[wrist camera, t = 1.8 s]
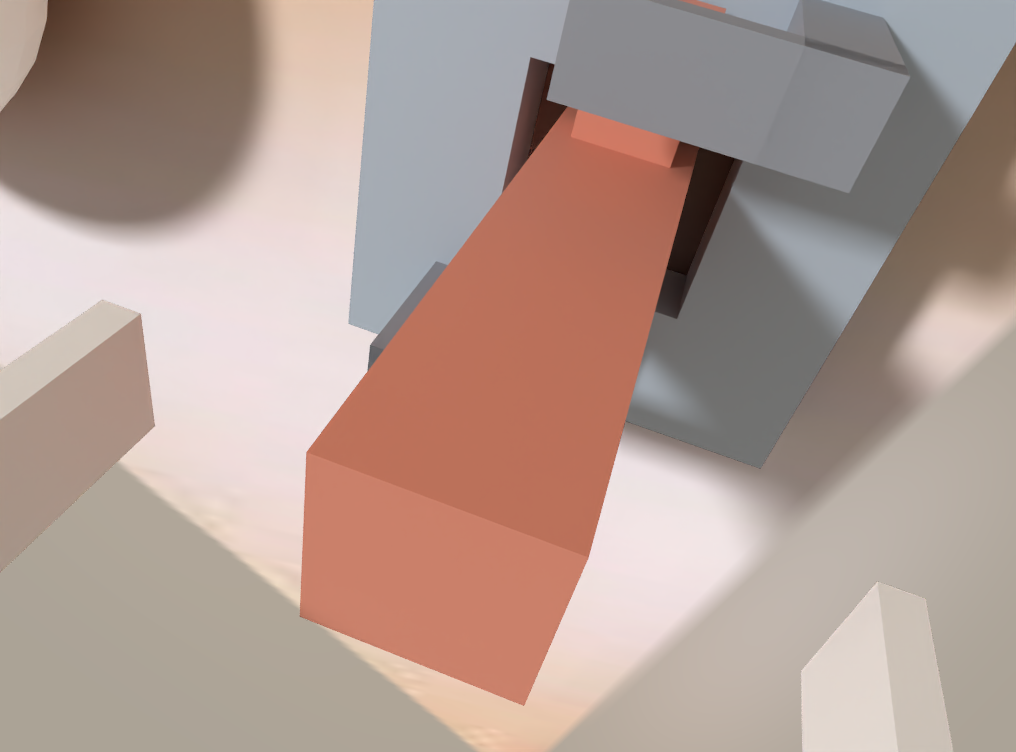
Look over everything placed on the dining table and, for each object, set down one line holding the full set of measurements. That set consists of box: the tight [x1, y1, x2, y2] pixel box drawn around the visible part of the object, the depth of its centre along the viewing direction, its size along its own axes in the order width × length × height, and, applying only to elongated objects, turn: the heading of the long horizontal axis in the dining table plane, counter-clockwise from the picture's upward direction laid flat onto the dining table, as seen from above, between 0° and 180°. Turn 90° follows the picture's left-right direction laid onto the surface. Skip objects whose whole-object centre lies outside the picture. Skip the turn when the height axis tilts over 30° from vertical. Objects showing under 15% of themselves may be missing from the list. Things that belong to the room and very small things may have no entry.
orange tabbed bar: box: [300, 0, 726, 706], centre depth 18 cm, size 12×4×18 cm, turn 168°
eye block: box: [349, 0, 1016, 469], centre depth 22 cm, size 16×16×8 cm
